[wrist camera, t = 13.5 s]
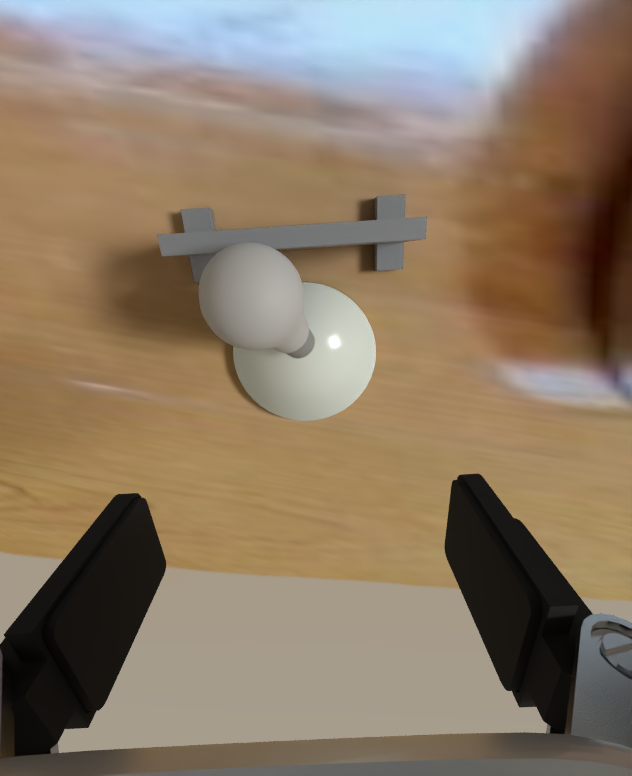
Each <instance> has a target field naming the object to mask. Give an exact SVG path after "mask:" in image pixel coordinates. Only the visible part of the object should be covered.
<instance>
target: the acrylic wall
mask: <svg viewBox="0 0 632 776" xmlns="http://www.w3.org/2000/svg"><path fill="white" fill-rule="evenodd" d="M181 214H182V220H183V225H184V230H185V233H174V234H159V235H157V237H158V241H159V246H160V251H161V255H162V256H189V257H190V262H191V268H192V273H193V278H194V283H200V279H201V276H202V273H203V271H204V269H205V267H206V265H207V264H208V263H209V261H210V260H211V259H212V258H213V257H214V256H215V255H216V254H217V253H218V252H220V251H221V250H223V249H224V248H226V247H228V246H231V245H234V244H239V243H246V242H251V243H260V244H264V245H267V246H270V247H272V248H274V249H276V250H277V251H281V250H297V249H312V248H327V247H342V246H357V245H372V244H375V271H383V270H398V269H403V255H404V242H408V241H415V240H421V239H426V226H427V217H413V218H405V194H404V195H390V196H377V197H376V198H375V220H368V221H353V222H338V223H323V224H308V225H293V226H278V227H264V228H249V229H234V230H219V231H216V229H215V223H214V216H213V210H212V209H210V208H196V209H181Z"/></svg>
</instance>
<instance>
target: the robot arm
mask: <svg viewBox="0 0 632 776" xmlns="http://www.w3.org/2000/svg"><path fill="white" fill-rule="evenodd" d="M445 554H446V557H447V560H448V562H449V564H450V567H451V569H452V571H453V574H454V576H455V578H456V580H457V583H458V585H459V587H460V590H461V592H462V594H463V596H464V599H465V601H466V603H467V606H468V608H469V610H470V612H471V615H472V617H473V619H474V622H475V624H476V626H477V628H478V630H479V633H480V635H481V638H482V640H483V642H484V644H485V647H486V649H487V651H488V654H489V656H490V658H491V660H492V662H493V665H494V667H495V670H496V672H497V674H498V676H499V679H500V681H501V683H502V685H503V686H504V688H505V689H506V690H507V691H512V692H513V695H514V697H515V699H516V701H517V703H518V706H519V707H537V709H538V711H539V713H540V715H541V717H542V719H543V721H544V722H546V723H547V731H546V733H480V734H479V733H476V734H439V735H414V736H390V737H389V736H388V737H364V738H339V739H317V740H297V741H296V740H295V741H273V742H253V743H231V744H210V745H190V746H172V747H152V748H134V749H114V750H97V751H96V750H95V751H81V752H68V753H59V750H58V741H59V739H60V737H61V735H62V733H63V731H64V729H74V728H88V727H89V725H90V723H91V721H92V719H93V717H94V714H95V712H96V711H97V710H100V709H101V708H102V707H103V706H104V704H105V702H106V700H107V698H108V696H109V694H110V692H111V689H112V687H113V685H114V683H115V681H116V679H117V676H118V674H119V672H120V670H121V668H122V665H123V663H124V661H125V659H126V657H127V654H128V652H129V650H130V648H131V646H132V643H133V641H134V639H135V637H136V635H137V633H138V630H139V628H140V626H141V624H142V622H143V619H144V617H145V615H146V613H147V611H148V608H149V606H150V604H151V602H152V600H153V597H154V595H155V593H156V591H157V589H158V587H159V584H160V582H161V580H162V578H163V576H164V573H165V569H166V560H165V557H164V554H163V551H162V547H161V544H160V541H159V538H158V535H157V532H156V529H155V526H154V523H153V520H152V516H151V513H150V510H149V507H148V504H147V501H146V499H145V498H141V496H140V495H139V494H137V493H132V494H118V495H116V496H115V497H114V498H113V499H112V500H111V502H110V503H109V504H108V505H107V507H106V508H105V509H104V510H103V512H102V513H101V514H100V515H99V517H98V518H97V519H96V520H95V522H94V523H93V524H92V525H91V527H90V528H89V529H88V530H87V531H86V533H85V534H84V535H83V536H82V538H81V539H80V540H79V541H78V543H77V544H76V545H75V546H74V548H73V549H72V550H71V551H70V553H69V554H68V555H67V556H66V558H65V559H64V560H63V561H62V563H61V564H60V565H59V566H58V568H57V569H56V570H55V571H54V573H53V574H52V575H51V576H50V578H49V579H48V580H47V581H46V583H45V584H44V585H43V586H42V588H41V589H40V590H39V591H38V593H37V594H36V595H35V596H34V598H33V599H32V600H31V601H30V603H29V604H28V605H27V606H26V608H25V609H24V610H23V611H22V613H21V614H20V615H19V616H18V618H17V619H16V620H15V621H14V623H13V624H12V625H11V626H10V628H9V629H8V630H7V631H6V633H5V634H4V636H5V637H6V638H5V639H4V640H3V642H2V643H1V644H0V776H632V623H631V622H629V621H627V620H625V619H622V618H619V617H616V616H614V615H608V614H602V613H600V614H592V612H591V611H590V610H589V609H588V607H587V606H586V605H585V604H584V602H583V601H582V600H581V598H580V597H579V596H578V594H577V593H576V592H575V590H574V589H573V588H572V587H571V585H570V584H569V583H568V581H567V580H566V579H565V577H564V576H563V575H562V574H561V572H560V571H559V570H558V568H557V567H556V566H555V564H554V563H553V562H552V561H551V559H550V558H549V557H548V555H547V554H546V553H545V552H544V550H543V549H542V548H541V546H540V545H539V544H538V542H537V541H536V540H535V539H534V537H533V536H532V535H531V533H530V532H529V531H528V529H527V528H526V527H525V526H524V524H523V523H522V522H521V521H520V520H518V519H516V518H513V517H512V515H511V514H510V513H509V511H508V510H507V509H506V507H505V506H504V505H503V503H502V502H501V501H500V499H499V498H498V497H497V495H496V494H495V493H494V491H493V490H492V489H491V487H490V486H489V485H488V483H487V482H486V481H485V479H484V478H483V477H482V476H481V475H480V474H466V475H459V476H458V478H457V480H453V482H452V487H451V495H450V504H449V512H448V521H447V529H446V538H445Z"/></svg>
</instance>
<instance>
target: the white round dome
mask: <svg viewBox="0 0 632 776" xmlns="http://www.w3.org/2000/svg"><path fill="white" fill-rule="evenodd" d="M302 285H303V289H304V298H305V300H304V310H303V316H304V318H305V319H306V321H307V323H308V326H309V329H310V330H311V332H312V334H313V335H314V338H315V345H314V348H313V350H312V351H311V353H310V354H309V355H307V356H306V357H303V358H300V359H296V358H293V357H291V356H289V355H288V354H286V353H282V352H279V351H277V350H275V349H274V348H268V349H262V350H246V349H242V348H238V347H234V346H233V358H234V365H235V369H236V372H237V375H238V378H239V380H240V382H241V384H242V385H243V387H244V389H245V390H246V391H247V393H248V394H249V395H250V396H251V397H252V399H253V400H254V401H256V402H257V403H258V404H259V405H260V406H262V407H263V408H265V409H266V410H268V411H269V412H271V413H273V414H275V415H278V416H281V417H283V418H287V419H292V420H300V421H310V420H318V419H323V418H327V417H329V416H332V415H335V414H337V413H339V412H340V411H342V410H344V409H345V408H347V407H348V406H350V405H351V404H352V403H353V402H354V401H355V400H356V399H357V398H358V397H359V396H360V395H361V394H362V392H363V391H364V389H365V388H366V386H367V385H368V383H369V381H370V379H371V376H372V373H373V370H374V365H375V359H376V345H375V339H374V334H373V331H372V328H371V326H370V324H369V322H368V320H367V318H366V316H365V315H364V313H363V312H362V310H361V309H360V308H359V307H358V306H357V305H356V304H355V303H354V302H353V301H352V300H351V299H350V298H349V297H347V296H346V295H345V294H343V293H342V292H340V291H338V290H336V289H334V288H332V287H329V286H327V285H323V284H319V283H313V282H302Z"/></svg>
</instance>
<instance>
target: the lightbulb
mask: <svg viewBox="0 0 632 776" xmlns="http://www.w3.org/2000/svg"><path fill="white" fill-rule="evenodd" d="M304 300H305V298H304V289H303V285H302V281H301V278H300V275H299V273H298V272H297V270H296V268H295V267H294V265H293V264H292V263H291V262H290V260H289V259H288V258H287V257H285V256H284V255H283V254H282V253H280V252H279V251H277V250H276V249H274V248H272V247H270V246H267V245H264V244H260V243H251V242H246V243H239V244H234V245H231V246H228V247H226V248H224V249H223V250H221V251H220V252H218V253H217V254H216V255H215V256H214V257H213V258H212V259H211V260H210V261H209V263H208V264H207V265H206V267H205V269H204V271H203V273H202V276H201V279H200V283H199V304H200V309H201V312H202V315H203V317H204V319H205V321H206V322H207V324H208V325H209V327H210V328H211V330H212V331H213V332H214V333H215V334H216V335H217V336H218V337H219V338H220V339H221V340H223V341H225V342H226V343H228V344H230V345H232V346H234V347H238V348H242V349H246V350H262V349H268V348H274V349H275V350H277V351H279V352H282V353H286V354H288V355H289V356H291V357H293V358H296V359H300V358H303V357H306V356H307V355H309V354H310V353H311V351H312V350H313V348H314V345H315V338H314V335H313V334H312V332H311V330H310V329H309V326H308V323H307V321H306V319H305V318H304V316H303V310H304Z"/></svg>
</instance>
